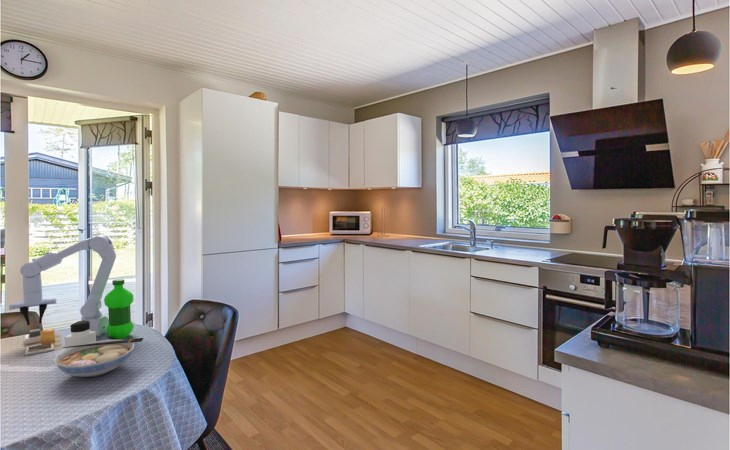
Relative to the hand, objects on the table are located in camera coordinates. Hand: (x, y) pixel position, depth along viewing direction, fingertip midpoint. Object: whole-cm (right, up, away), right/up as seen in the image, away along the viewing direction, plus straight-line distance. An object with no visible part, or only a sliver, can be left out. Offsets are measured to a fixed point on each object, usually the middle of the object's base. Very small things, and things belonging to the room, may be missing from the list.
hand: (34, 323), depth 155 cm
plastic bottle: (+30, -8, +8) cm, 32 cm away
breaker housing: (0, -7, 0) cm, 7 cm away
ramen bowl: (+43, -11, -25) cm, 51 cm away
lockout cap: (+8, -7, -2) cm, 11 cm away
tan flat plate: (+6, -9, -3) cm, 11 cm away
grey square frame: (+10, -8, -9) cm, 16 cm away
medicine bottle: (+25, -9, -7) cm, 27 cm away
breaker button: (0, -5, 0) cm, 5 cm away
